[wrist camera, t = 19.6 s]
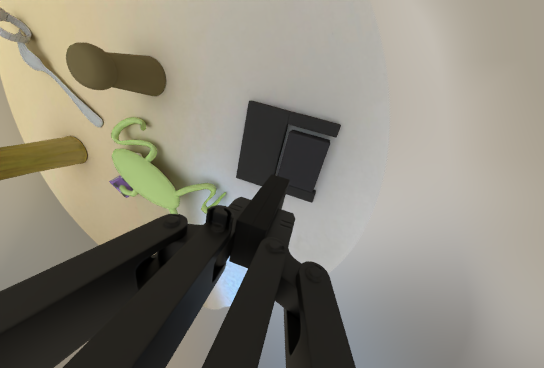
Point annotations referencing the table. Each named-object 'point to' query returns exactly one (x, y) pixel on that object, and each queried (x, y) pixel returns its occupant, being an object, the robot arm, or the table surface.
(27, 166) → the vase
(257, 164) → the black pad
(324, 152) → the charcoal pad
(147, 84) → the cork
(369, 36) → the table surface
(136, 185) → the figurine
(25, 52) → the fork
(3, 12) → the ring
